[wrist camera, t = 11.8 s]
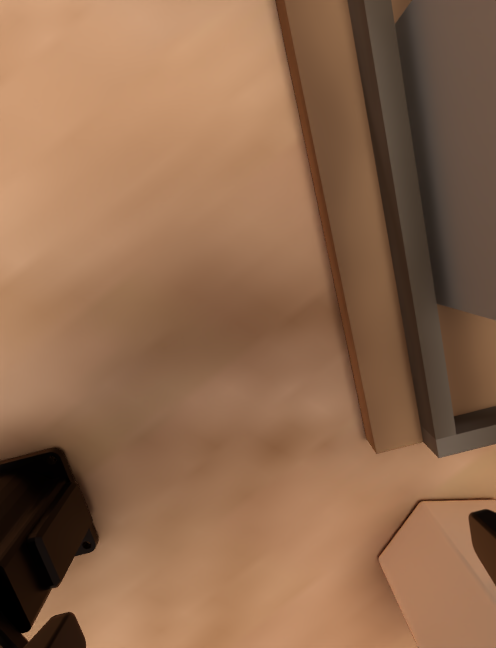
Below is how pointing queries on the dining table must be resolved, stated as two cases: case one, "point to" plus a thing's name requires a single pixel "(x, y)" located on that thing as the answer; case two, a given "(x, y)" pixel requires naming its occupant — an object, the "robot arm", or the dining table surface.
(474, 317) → the track board
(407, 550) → the jar
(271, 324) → the dining table surface
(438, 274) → the door panel
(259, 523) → the dining table surface
